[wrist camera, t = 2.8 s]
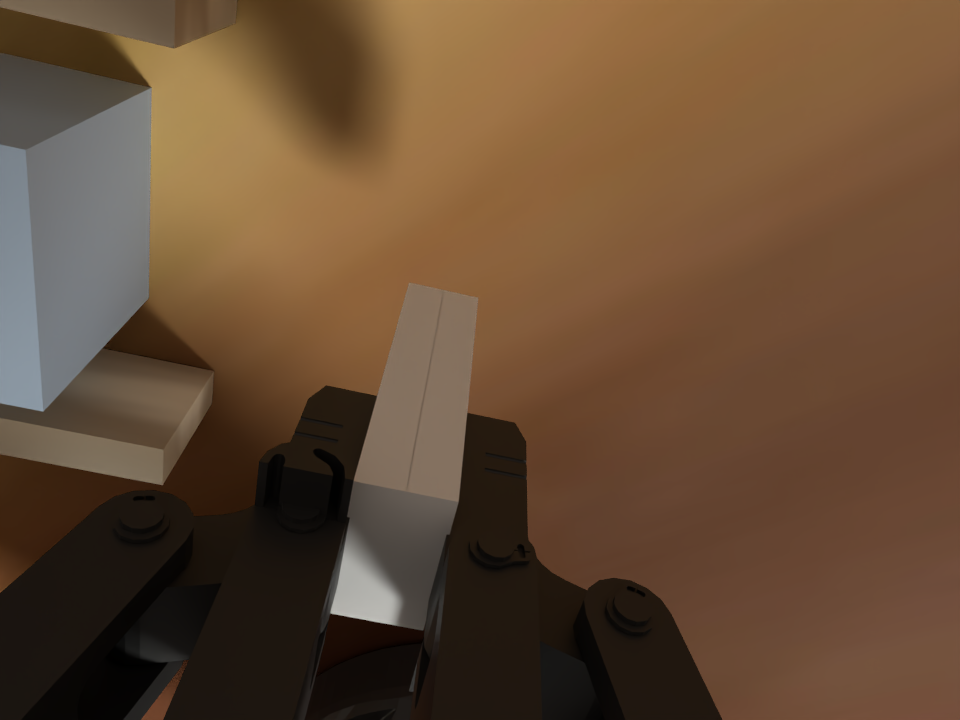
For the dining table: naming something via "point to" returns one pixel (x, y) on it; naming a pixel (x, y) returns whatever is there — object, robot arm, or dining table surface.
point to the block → (68, 221)
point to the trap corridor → (111, 374)
